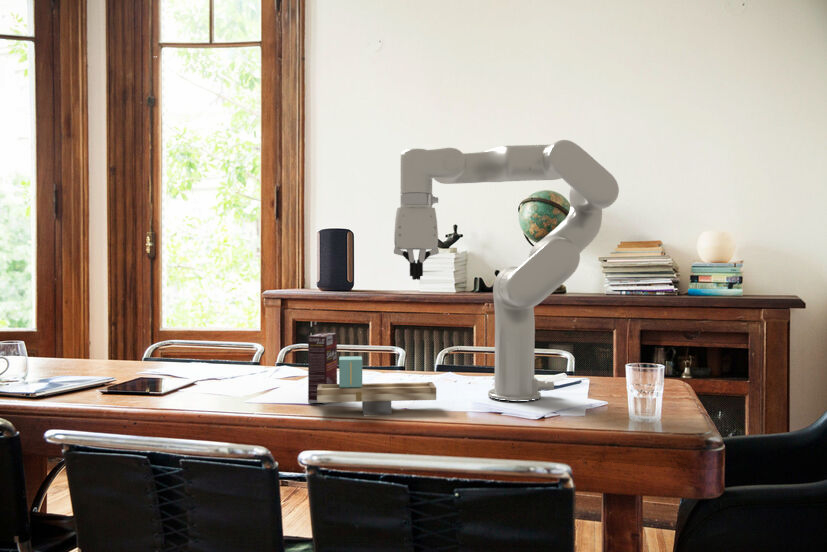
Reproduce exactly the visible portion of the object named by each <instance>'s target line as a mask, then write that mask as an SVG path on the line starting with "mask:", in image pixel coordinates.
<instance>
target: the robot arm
mask: <svg viewBox="0 0 827 552" xmlns="http://www.w3.org/2000/svg"><path fill="white" fill-rule="evenodd" d="M561 179H562V180H563V181H564V182H566V184H568V185H569V186H570V189H569V210H568V211H569V212H568V214H567V215H566V217H565V218H564V219H563V220H562V221H561V222H560V223H559V224H558V225H557V226H556V227H555V228H554V229H552V230H551V231H550V232H549V233H548V234H546V235H545V236H544V237H543V238H542V239H540V240H539V241H538V242H536V243H535V244H534V245H533V247H532V248H531V249H530V252H529V255H528V259H527V260H526V261H524V262H523V263H522V264H520V265H519V266H509V267H505V268H504V269H502V270H501V271H499V272H498V274H497V276H496V277H495V279H494V283H493V287H492V293H493V298H492V299H493V304H494V305H493V306H494V388H492V389H490V390H488V392H487V395H488V398H490V397H491V398H490V399H492V398H498V399H505V400H532V399H538V398H540V399H541V398H542V397H541V395H542V394H541V391H542V390H547V391H549V390H551V391H552V390H554V389H555V383H554V381H546V380H539V379H537V378H536V377H535V340H536V339H535V335H536V329H535V328H536V327H535V326H536V325H535V323H536V322H535V310H534V309H535V307H536V306H538V305H539V304H540V303H542V302H543V301H545V299H547V298H548V297H549V296H550V295H551V294H552V293H554V292H555V291H556V290H557V289H558V288H560V287H561V285H563V284H564V283H565V282H567V280H568V279H570V277H572V276H573V275H574V274H575V272H576V270H577V269H578V267H579V264H580V260H581V253H582V252H583V251H584V250H585V249H586V248H587V247H588V246H590V244H591V243H592V242H593V241H594V240H595V238H596V237H597V236H598V234H599V233H600V229H601V227H602V226H601V225H602V221H603V210H604V209H606V208H610V206H612V205H613V204H614V203H615V202H616V200H617V199H618V197H619V192H620V188H619V183H618V181H617V180H616V178H615V177H614V176H613V174H612V173H611V172H609V170H607V169H606V168H605V167H604V166H603V165H602V164H600V163H599V162H598V161H597V160H596V159H594V157H592V156H591V155H590V154H589V152H587V151H586V150H584V149H583V148H582V147H581V146H580V145H578V144H577V143H575V142H574V141H571V140H568V139H560V140H558V141H555V142H553V143H551V144H528V145H527V144H525V145H523V144H522V145H518V144H517V145H503V146H499V147H494V148H492V149H488V150H485V151H479V152H478V151H477V152H469V153H464V152H462V151H461V150H459V149H458V148H455V147H441V148H436V149H435V148H433V149H425V148H409V149H408V148H407V149H405V150H403V151H402V152H401V153H400V207H397V208H396V212H395V218H394V219H395V221H394V222H395V223H394V235H393V236H394V237H393V238H394V240H393V241H394V248H393V254H394V255H397V256H403V258H405V259H406V261H407V262H409V277H411V279H412V280H413V281H415V280H418V281H421V277H423V276H424V262H425V261H426V260H427V259H428V258H429V257H431V256H434V255H439V253H440V251H439V247H438V246H439V232H438V220H437V213H436V212H437V211H436V208H435V207H433V206H434V204H439V197H437V196H436V197H435V196H434V195H433V180H434V181H435V182H438V183H440V184H444V185H445V184H446V185H448V184H449V185H451V184H452V185H453V184H455V185H456V184H459V185H460V184H476V183H477V184H479V183H504V182H525V181H527V182H529V181H556V180H561ZM405 250H406V251H405ZM415 250H417V251H418V258H417V260H415V254H414V251H415ZM538 400H539V399H538Z"/></svg>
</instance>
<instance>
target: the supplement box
mask: <svg viewBox="0 0 827 552" xmlns="http://www.w3.org/2000/svg"><path fill="white" fill-rule="evenodd" d="M337 336H338V333H336V332H319V333H315V334H313V335H308V336H307V340H308V341H307V344H308V349H307V350H308V351H307V356H308V358H307V359H308V361H307V363H308V365H307V367H308V368H307V370H308V371H307V372H308V373H307V376H308V378H307V380H308V383H307V385H308V386H307V390H308V391H307V392H308V393H307V394H308V395H307V397H308V398H307V403H308V404H313V403H323V404H322V405H327V404H328V403H329V402H317V387H318V384H338V341H337V340H338V337H337Z"/></svg>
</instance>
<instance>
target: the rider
mask: <svg viewBox="0 0 827 552" xmlns="http://www.w3.org/2000/svg"><path fill="white" fill-rule="evenodd" d="M338 359H339V361H338V363H339V365H338V368H339V369H338V372H339V373H338V376H339V378H338V380H339V383H338V384H339V387H342V388H360V387H362V384H363V357H362V356H361V355H360V356H354V355H353V356H352V355H351V356H350V355H349V356H339V358H338Z"/></svg>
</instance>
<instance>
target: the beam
mask: <svg viewBox="0 0 827 552" xmlns="http://www.w3.org/2000/svg"><path fill="white" fill-rule="evenodd" d="M398 401H399V402H401V401H437V386H436V385H435V384H434V382H433V381H427V382H383V383H382V382H381V383H378V382H377V383H376V382H375V383H362V387H360V388H342V387H339V383H337V384H318V387H317V402H328V403H349V402H350V403H352V402H354V403H355V402H356V403H357V402H358V403H359V402H360V403H361V407H362V408H361V409H362V414H364V415H378V416H392V402H398ZM364 415H363V416H364Z"/></svg>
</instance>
